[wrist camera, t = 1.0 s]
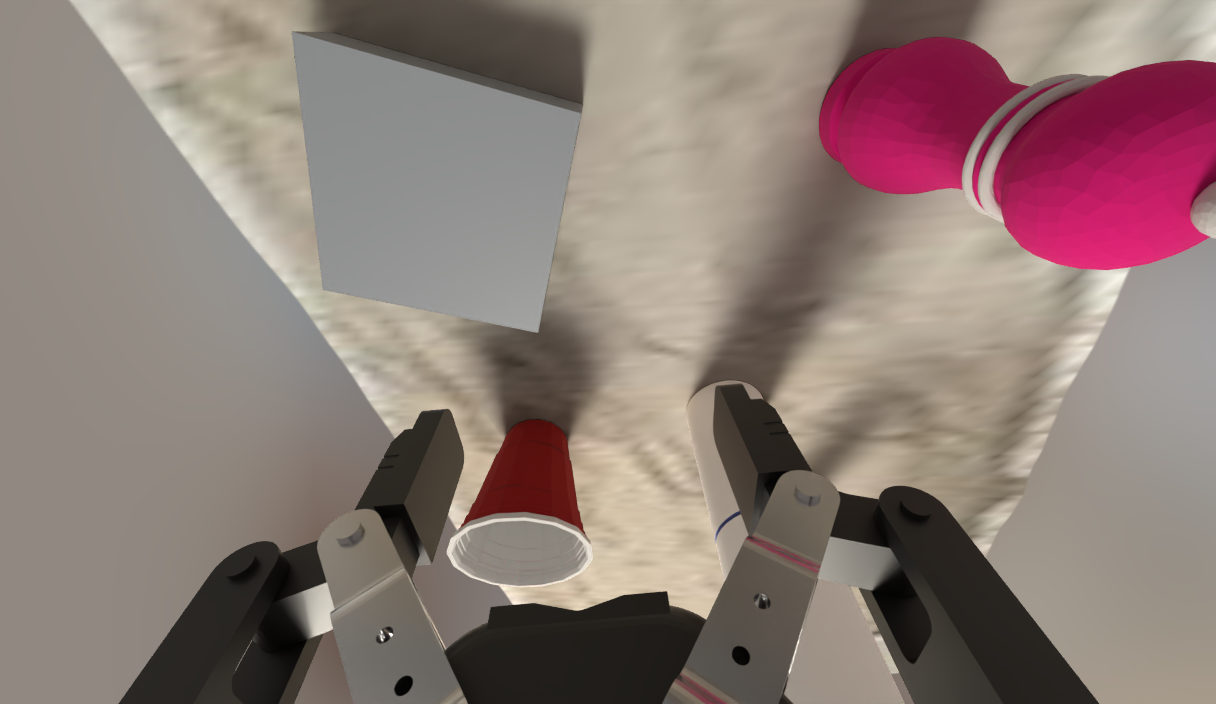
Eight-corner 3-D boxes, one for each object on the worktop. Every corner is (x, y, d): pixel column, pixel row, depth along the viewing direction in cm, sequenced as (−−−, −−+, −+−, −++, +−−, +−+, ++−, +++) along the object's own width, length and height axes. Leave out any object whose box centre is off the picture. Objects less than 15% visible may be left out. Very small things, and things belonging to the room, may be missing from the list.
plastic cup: (504, 486, 46) (479, 605, 37) (462, 411, 40) (419, 530, 31) (605, 469, 45) (607, 587, 35) (577, 389, 39) (571, 506, 29)
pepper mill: (784, 134, 28) (1056, 269, 11) (876, 7, 24) (1464, -62, 8) (865, 193, 30) (1190, 377, 13) (960, 84, 26) (1557, 156, 10)
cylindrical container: (669, 415, 41) (741, 786, 21) (726, 367, 38) (877, 746, 18) (722, 448, 44) (832, 805, 23) (779, 405, 41) (964, 773, 20)
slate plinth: (332, 32, 24) (291, 31, 21) (583, 104, 27) (581, 113, 23) (351, 264, 32) (322, 289, 29) (543, 305, 34) (537, 332, 31)
